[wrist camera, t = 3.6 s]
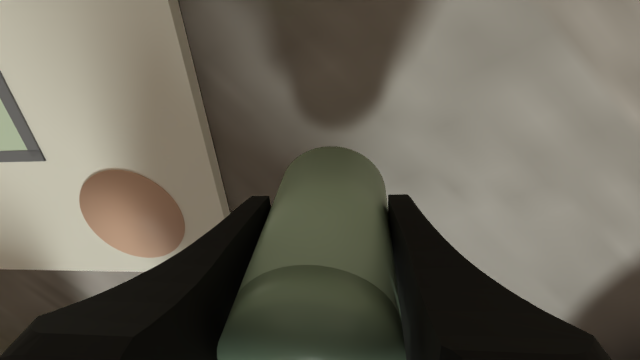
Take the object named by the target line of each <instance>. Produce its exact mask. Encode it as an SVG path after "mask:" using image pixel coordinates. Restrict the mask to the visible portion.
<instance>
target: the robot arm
mask: <svg viewBox="0 0 640 360" xmlns="http://www.w3.org/2000/svg"><path fill="white" fill-rule="evenodd" d="M270 209H271V205H270V199H269V196H252V197H250V198H249V199H248V200H246V201H245V202H244V203H243V204H241V205H240V206H239V207H238V208H237V209H235V210H234V211H233V212H232V213H231V214H230V215H228V216H227V217H226V218H225V219H223V220H222V221H221V222H220V223H219V224H217V225H216V226H215V227H214V228H212V229H211V230H210V231H208V232H207V233H206V234H204V235H203V236H202V237H200V238H199V239H197V240H196V241H195V242H193V243H192V244H191V245H189V246H188V247H186V248H185V249H183V250H182V251H180V252H179V253H177V254H176V255H174V256H172V257H171V258H169V259H167V260H166V261H164V262H162V263H161V264H159V265H157V266H155V267H153V268H151V269H150V270H148V271H146V272H144V273H142V274H140V275H138V276H136V277H134V278H133V279H131V280H129V281H127V282H124V283H122V284H120V285H118V286H116V287H114V288H111V289H109V290H107V291H104V292H102V293H100V294H97V295H95V296H93V297H90V298H88V299H85V300H83V301H80V302H77V303H75V304H72V305H69V306H67V307H64V308H61V309H58V310H56V311H53V312H50V313H47V314H44V315H41V316H39V317H37V318H36V319H35V320H34V321H33V322H32V323H31V324H30V325H29V326H28V328H27V329H26V330H25V331H24V332H23V333H22V334H21V335H20V336H19V337H18V338H17V339H16V340H15V341H14V342H13V343H12V344H11V345H10V346H9V348H8V349H7V350H6V351H5V352H4V353H3V354H2V355H1V356H0V360H218V359H217V346H218V342H219V339H220V337H221V334H222V332H223V329H224V327H225V324H226V321H227V319H228V316H229V314H230V311H231V309H232V306H233V304H234V301H235V298H236V296H237V293H238V291H239V288H240V286H241V283H242V281H243V278H244V276H245V273H246V270H247V268H248V265H249V263H250V260H251V258H252V255H253V253H254V250H255V247H256V245H257V242H258V240H259V237H260V235H261V232H262V230H263V227H264V225H265V222H266V219H267V217H268V214H269V212H270ZM388 215H389V223H390V231H391V239H392V247H393V255H394V263H395V271H396V279H397V287H398V296H399V304H400V312H401V320H402V328H403V336H404V345H405V353H406V360H611V358H610V357H609V356H608V354H607V353H606V352H605V350H604V349H603V348H602V347H601V345H600V344H599V343H598V341H597V340H596V339H595V337H594V336H593V335H591V334H589V333H587V332H585V331H583V330H581V329H579V328H577V327H575V326H573V325H571V324H569V323H567V322H565V321H563V320H561V319H559V318H557V317H555V316H553V315H551V314H549V313H547V312H545V311H543V310H541V309H540V308H538V307H536V306H534V305H533V304H531V303H529V302H528V301H526V300H524V299H522V298H521V297H519V296H517V295H516V294H514V293H513V292H511V291H509V290H508V289H506V288H505V287H503V286H502V285H500V284H499V283H497V282H496V281H495V280H493V279H492V278H490V277H489V276H487V275H486V274H485V273H483V272H482V271H481V270H479V269H478V268H477V267H475V266H474V265H473V264H472V263H471V262H469V261H468V260H467V259H466V258H464V257H463V256H462V255H461V254H460V253H459V252H458V251H457V250H455V249H454V248H453V247H452V246H451V245H450V244H449V243H448V242H447V241H446V240H445V239H444V238H443V237H442V236H441V234H440V233H439V232H438V231H437V230H436V229H435V228H434V227H433V226H432V224H431V223H430V222H429V221H428V220H427V219H426V217H425V216H424V215H423V214H422V212H421V211H420V210H419V209H418V207H417V206H416V205H415V203H414V202H413V200H412V199H411V198H410V197H409V196H408V195H388Z"/></svg>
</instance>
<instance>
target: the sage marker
mask: <svg viewBox="0 0 640 360" xmlns="http://www.w3.org/2000/svg"><path fill="white" fill-rule="evenodd" d="M217 359H218V360H406V353H405V345H404V336H403V328H402V320H401V312H400V304H399V296H398V287H397V279H396V271H395V263H394V255H393V247H392V239H391V231H390V223H389V215H388V206H387V198H386V190H385V184H384V181H383V178H382V176H381V174H380V172H379V170H378V169H377V168H376V166H375V165H374V164H373V163H372V162H371V161H370V160H369V159H367V158H366V157H365V156H363V155H361V154H360V153H358V152H355V151H353V150H350V149H347V148H342V147H331V146H329V147H320V148H316V149H313V150H310V151H307V152H305V153H303V154H302V155H300V156H299V157H297V158H296V159H295V160H294V161H293V162H292V163H291V164H290V165H289V167H288V168H287V170H286V172H285V174H284V176H283V179H282V181H281V184H280V186H279V189H278V191H277V194H276V197H275V199H274V202H273V204H272V207H271V209H270V212H269V214H268V217H267V219H266V222H265V225H264V227H263V230H262V232H261V235H260V237H259V240H258V242H257V245H256V247H255V250H254V253H253V255H252V258H251V260H250V263H249V265H248V268H247V270H246V273H245V276H244V278H243V281H242V283H241V286H240V288H239V291H238V293H237V296H236V298H235V301H234V304H233V306H232V309H231V311H230V314H229V316H228V319H227V321H226V324H225V327H224V329H223V332H222V334H221V337H220V339H219V342H218V346H217Z"/></svg>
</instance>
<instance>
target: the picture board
mask: <svg viewBox="0 0 640 360" xmlns="http://www.w3.org/2000/svg"><path fill="white" fill-rule="evenodd" d="M228 215H230V211H229V207H228V203H227V198H226V194H225V190H224V186H223V182H222V178H221V174H220V170H219V166H218V162H217V158H216V154H215V150H214V145H213V141H212V137H211V133H210V129H209V125H208V121H207V117H206V113H205V109H204V105H203V101H202V97H201V92H200V88H199V84H198V80H197V76H196V72H195V68H194V64H193V60H192V56H191V52H190V48H189V44H188V39H187V35H186V31H185V27H184V23H183V19H182V15H181V11H180V7H179V3H178V0H0V269H11V270H66V271H122V272H146V271H148V270H150V269H151V268H153V267H155V266H157V265H159V264H161V263H162V262H164V261H166V260H167V259H169V258H171V257H172V256H174V255H176V254H177V253H179V252H180V251H182V250H183V249H185V248H186V247H188V246H189V245H191V244H192V243H193V242H195V241H196V240H197V239H199V238H200V237H202V236H203V235H204V234H206V233H207V232H208V231H210V230H211V229H212V228H214V227H215V226H216V225H217V224H219V223H220V222H221V221H222V220H223V219H225V218H226V217H227V216H228Z"/></svg>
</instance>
